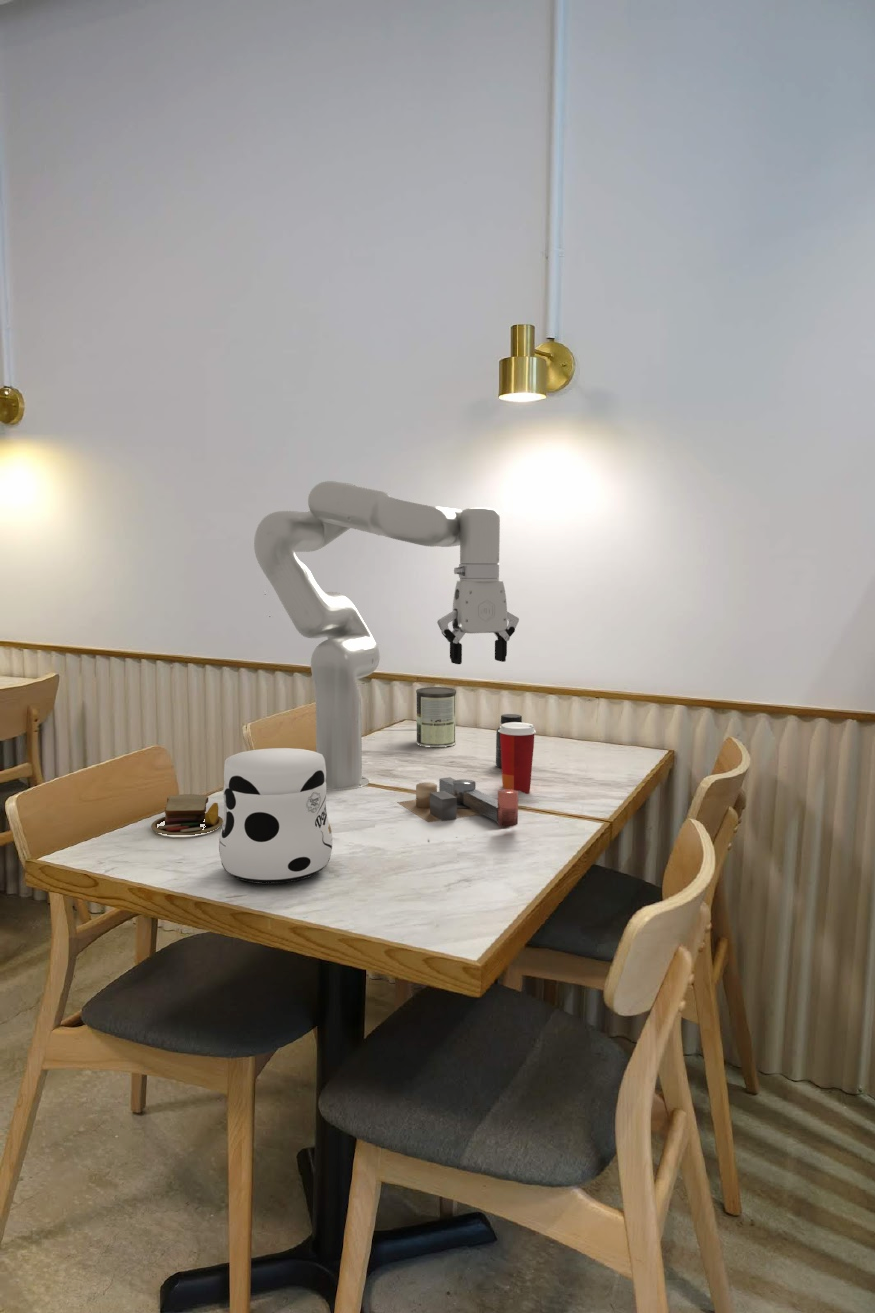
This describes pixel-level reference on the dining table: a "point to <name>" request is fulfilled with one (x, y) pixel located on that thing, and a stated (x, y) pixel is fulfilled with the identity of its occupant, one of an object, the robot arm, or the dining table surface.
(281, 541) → the robot arm
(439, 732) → the coffee can
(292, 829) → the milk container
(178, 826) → the toy sandwich meal
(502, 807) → the lever
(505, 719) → the supplement bottle
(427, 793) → the cylinder
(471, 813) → the base
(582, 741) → the dining table surface
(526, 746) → the paper cup
